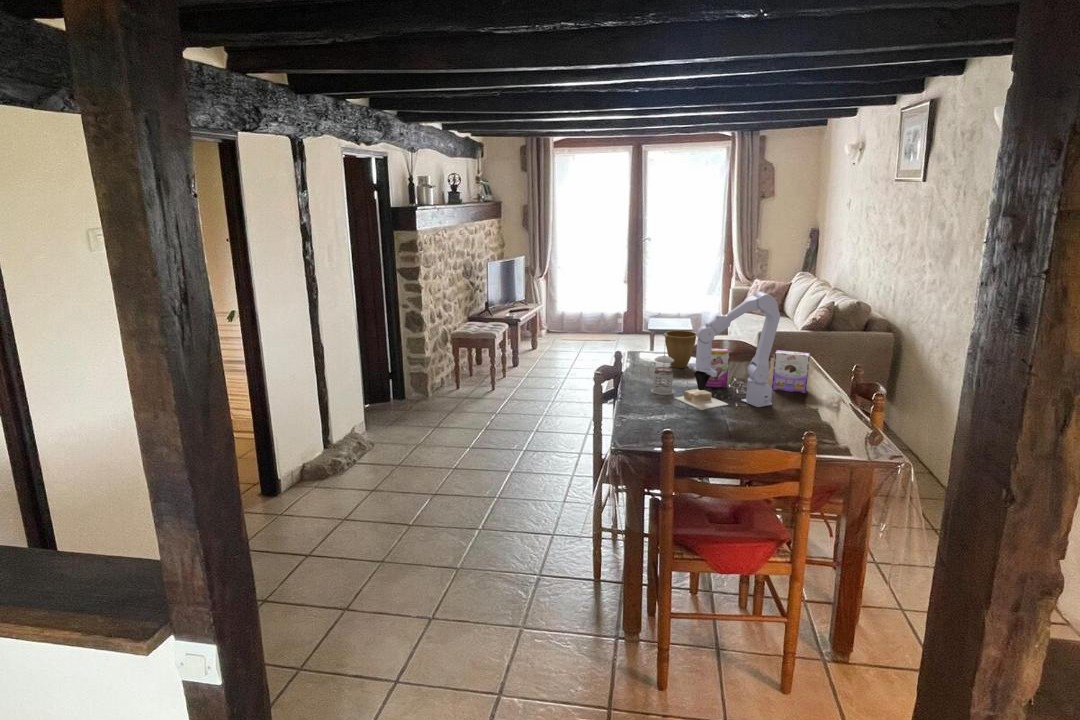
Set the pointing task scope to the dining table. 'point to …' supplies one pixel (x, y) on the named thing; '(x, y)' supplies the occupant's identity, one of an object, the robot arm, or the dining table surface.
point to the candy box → (791, 371)
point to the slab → (697, 395)
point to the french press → (662, 375)
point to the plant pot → (680, 347)
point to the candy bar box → (719, 368)
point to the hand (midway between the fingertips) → (701, 389)
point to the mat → (703, 403)
